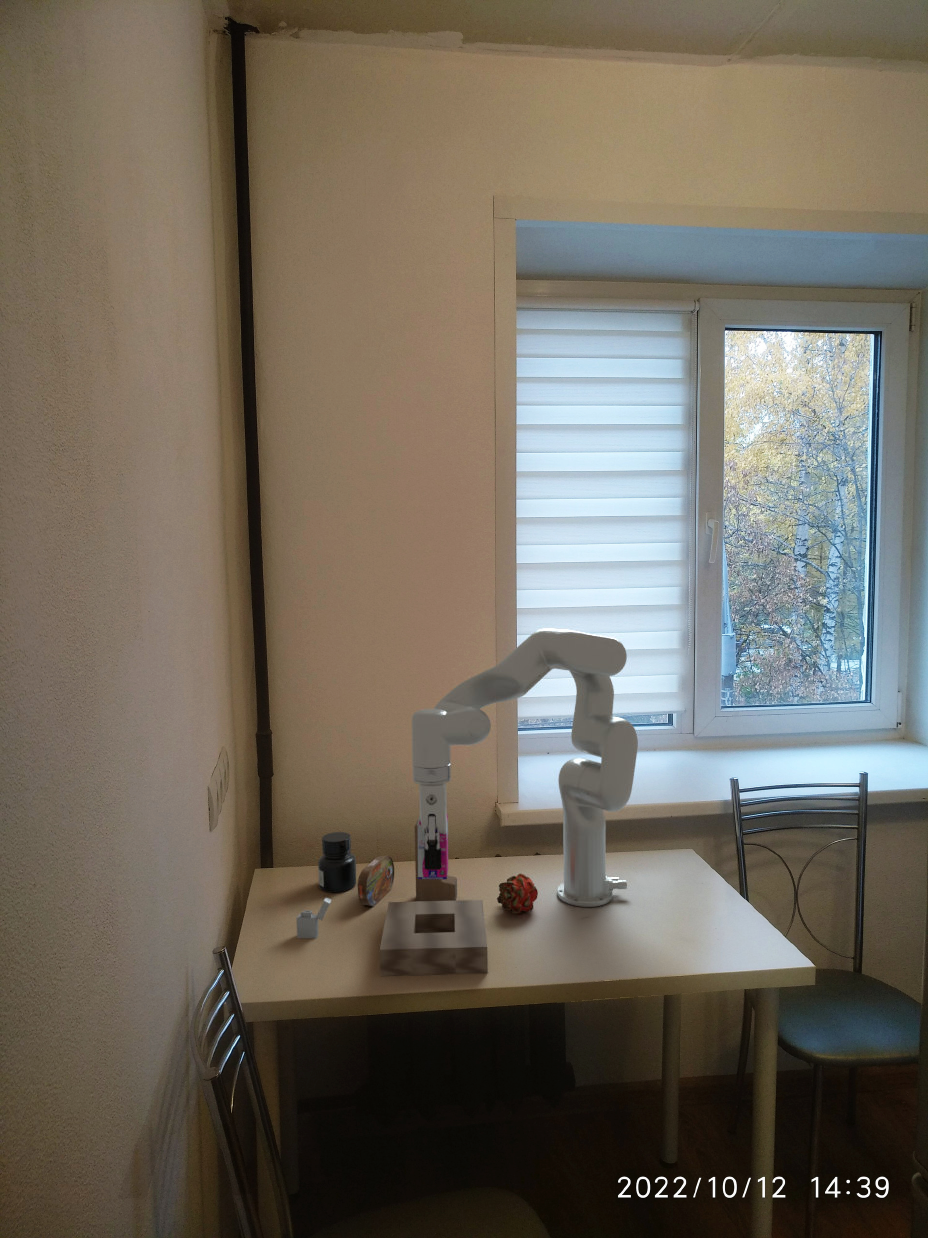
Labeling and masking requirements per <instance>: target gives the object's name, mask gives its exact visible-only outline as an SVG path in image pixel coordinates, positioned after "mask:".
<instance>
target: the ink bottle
mask: <svg viewBox="0 0 928 1238" xmlns="http://www.w3.org/2000/svg"><path fill="white" fill-rule="evenodd" d="M351 839H352V837H351V834H350V833H348V832H345V831H334V832H330V833H326V834H324V835H323V836H322V837H321V846H322V847H321V848H322V855H321V856H320V858H319V859H318V864H317V867H318V869H317V870H318V887H319V889H320V890H322V891H323V892H327V893H343V892H346V891H348V890H351V889H352V888H354V887H355V886H356V885H357V864H356V863H357V861H356V856H355V855H354V853H352V852H351V851H352V840H351Z"/></svg>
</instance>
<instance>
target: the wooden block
mask: <svg viewBox="0 0 928 1238" xmlns="http://www.w3.org/2000/svg"><path fill="white" fill-rule="evenodd" d="M418 820H419V819H417V820H416V822H415V825H414V854H415V855H414V859H415V861H414V863H415V864H414V869H415V902H417V901H457V898H458V878H457V877H456V876H451V875H447V879H418Z"/></svg>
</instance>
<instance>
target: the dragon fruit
mask: <svg viewBox="0 0 928 1238" xmlns="http://www.w3.org/2000/svg"><path fill="white" fill-rule="evenodd" d="M498 888H499V889H498V891H499V893H498V896H497V898H496V900H497V903H498V904H501V907H502V908H503V910H508V911H509V913H512V914H514V915H520V914H521V913H522V911H524V912H525V913H528V912H530V913H531V912H532V911H533V909H534V902H535V901H536V900H537V899H538V896H539V895H538V894H539V893H538V889H537V887H536V886H535V884H534V882H533V880H532V878H531V877H529V876H526V875H525V874H524V873H518V874H517V875H512V876H510V877H509V878H507V880H506V881H505V882H501V883H499V884H498Z"/></svg>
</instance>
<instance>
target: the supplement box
mask: <svg viewBox="0 0 928 1238" xmlns="http://www.w3.org/2000/svg"><path fill="white" fill-rule="evenodd" d="M418 815H419V816H418V819H417V820H418V879H447V876H448V873H449V814H448V813H447V833H446V834H445V835H443V833H441V834H440V832H439V834H440V836H439V839H440V848H441V869H439V870H426V869H425V859H424V849H425V835H424V834H422V829H421V819H420V814H418ZM428 816H429V815H428ZM435 822H436V815H435ZM427 833H429V830H427ZM435 833H438V831H437V829H435ZM428 839H429V836H428ZM435 839H436V840H437V836H435Z"/></svg>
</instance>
